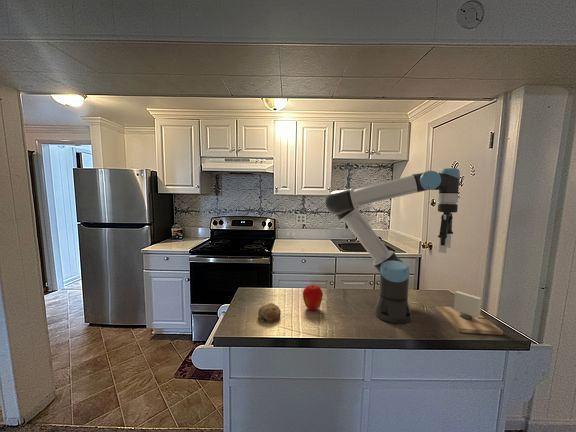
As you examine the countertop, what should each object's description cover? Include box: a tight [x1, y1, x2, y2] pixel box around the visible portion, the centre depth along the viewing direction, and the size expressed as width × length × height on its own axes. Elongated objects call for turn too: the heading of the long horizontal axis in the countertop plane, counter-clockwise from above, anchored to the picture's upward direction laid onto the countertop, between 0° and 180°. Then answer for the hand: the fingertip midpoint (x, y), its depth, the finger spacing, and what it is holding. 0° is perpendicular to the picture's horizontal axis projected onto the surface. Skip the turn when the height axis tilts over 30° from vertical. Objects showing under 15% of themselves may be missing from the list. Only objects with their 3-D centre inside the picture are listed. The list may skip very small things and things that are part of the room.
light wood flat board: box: [435, 305, 504, 336], centre depth 110 cm, size 16×20×2 cm
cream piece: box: [453, 290, 482, 320], centre depth 111 cm, size 10×9×10 cm
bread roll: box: [257, 302, 281, 324], centre depth 111 cm, size 10×10×8 cm
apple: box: [302, 284, 324, 312], centre depth 119 cm, size 9×9×12 cm
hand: (444, 249), depth 117 cm, fingers open, 13 cm apart
